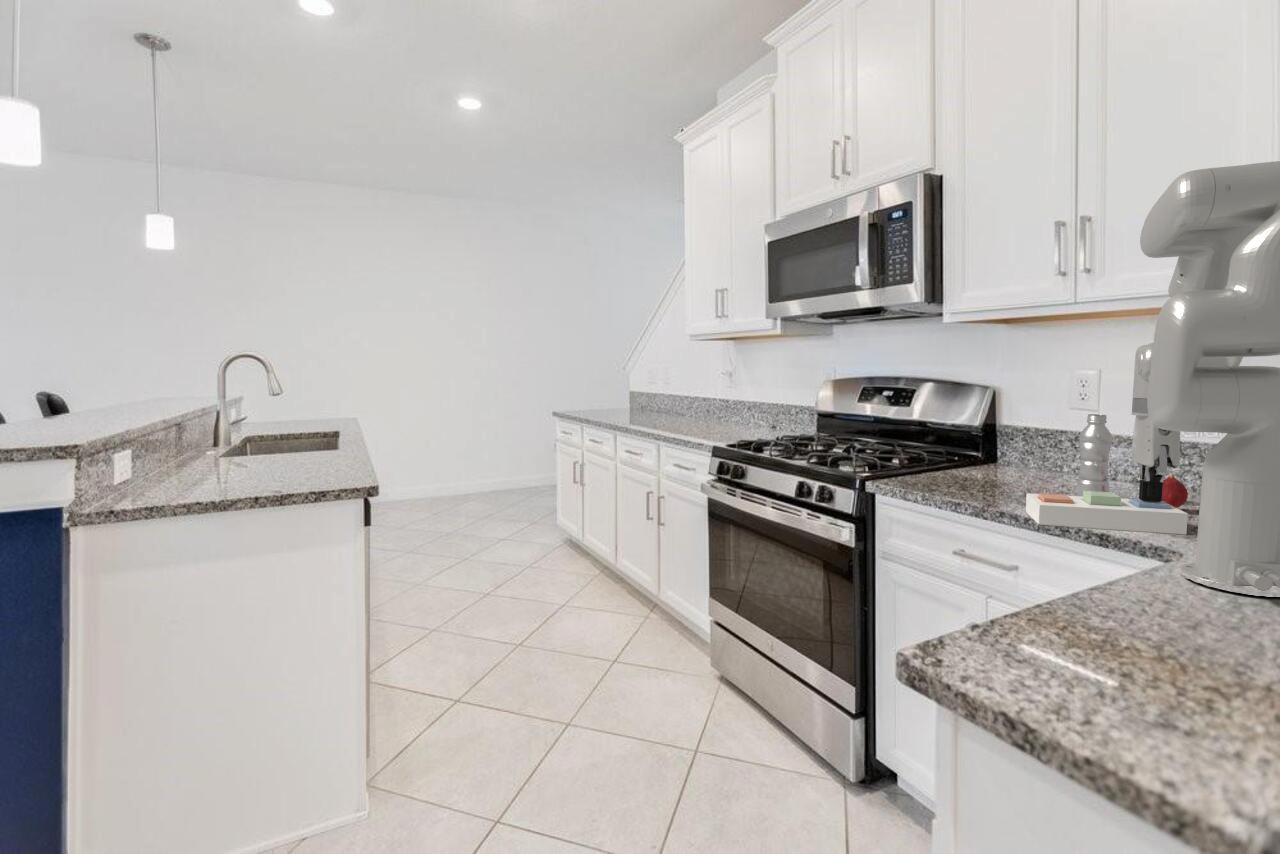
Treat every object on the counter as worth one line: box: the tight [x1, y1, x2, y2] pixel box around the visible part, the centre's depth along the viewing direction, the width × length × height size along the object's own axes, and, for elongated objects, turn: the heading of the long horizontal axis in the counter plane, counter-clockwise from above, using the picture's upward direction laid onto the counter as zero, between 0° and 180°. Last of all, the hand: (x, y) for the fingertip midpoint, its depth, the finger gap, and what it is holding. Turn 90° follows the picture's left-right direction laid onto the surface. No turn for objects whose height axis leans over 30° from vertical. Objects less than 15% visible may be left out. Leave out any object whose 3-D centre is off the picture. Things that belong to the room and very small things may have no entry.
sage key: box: [1083, 491, 1122, 506], centre depth 129 cm, size 5×5×3 cm
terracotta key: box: [1037, 493, 1073, 504], centre depth 132 cm, size 5×5×3 cm
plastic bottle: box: [1075, 413, 1113, 496], centre depth 150 cm, size 6×7×20 cm
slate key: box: [1129, 498, 1170, 509], centre depth 127 cm, size 5×5×3 cm
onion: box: [1162, 473, 1189, 509], centre depth 138 cm, size 6×6×8 cm
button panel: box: [1025, 492, 1189, 535], centre depth 130 cm, size 12×24×4 cm, turn 70°
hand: (1149, 500), depth 126 cm, fingers closed
